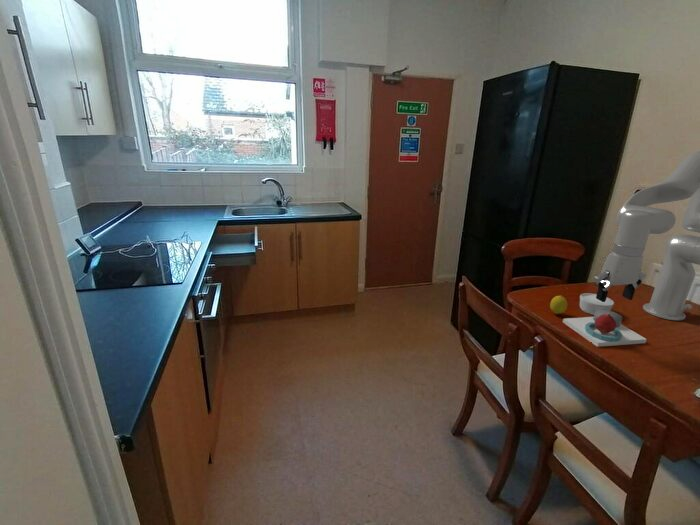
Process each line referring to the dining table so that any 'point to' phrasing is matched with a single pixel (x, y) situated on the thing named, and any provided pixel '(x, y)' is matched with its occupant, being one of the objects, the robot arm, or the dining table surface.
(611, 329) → the pomegranate
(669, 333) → the dining table surface
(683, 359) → the dining table surface
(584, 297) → the ramekin
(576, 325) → the carrier plate
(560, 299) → the lemon
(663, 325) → the dining table surface
